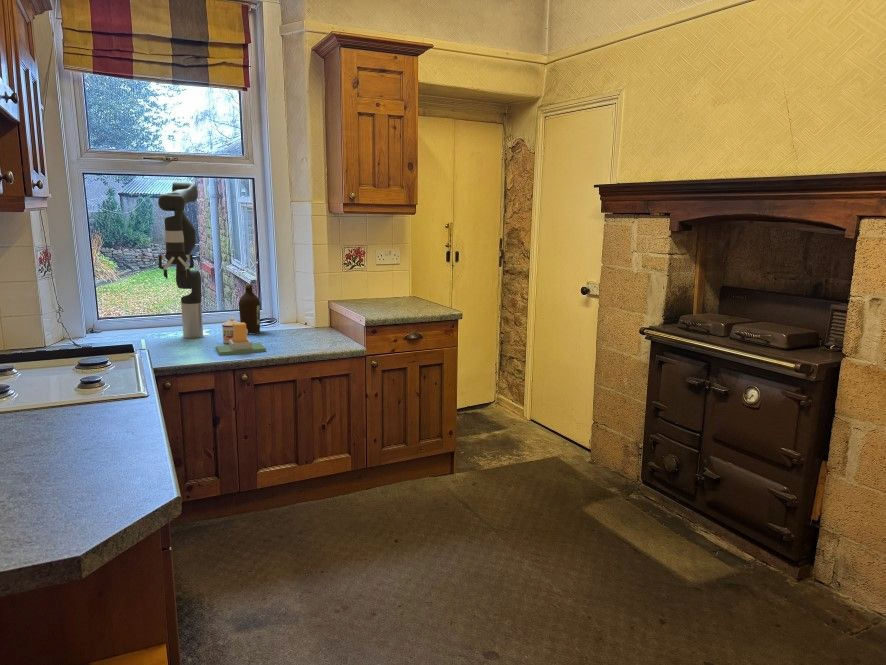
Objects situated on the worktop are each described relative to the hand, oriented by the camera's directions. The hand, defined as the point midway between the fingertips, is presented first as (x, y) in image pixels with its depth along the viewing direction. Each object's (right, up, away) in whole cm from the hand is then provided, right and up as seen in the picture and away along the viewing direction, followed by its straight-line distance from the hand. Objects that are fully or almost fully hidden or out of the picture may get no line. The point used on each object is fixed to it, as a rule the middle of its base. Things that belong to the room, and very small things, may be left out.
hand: (177, 277), depth 269 cm
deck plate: (+25, -32, +9) cm, 42 cm away
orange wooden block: (+25, -31, +9) cm, 41 cm away
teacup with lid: (+17, -29, +25) cm, 42 cm away
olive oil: (+18, -24, +48) cm, 56 cm away
